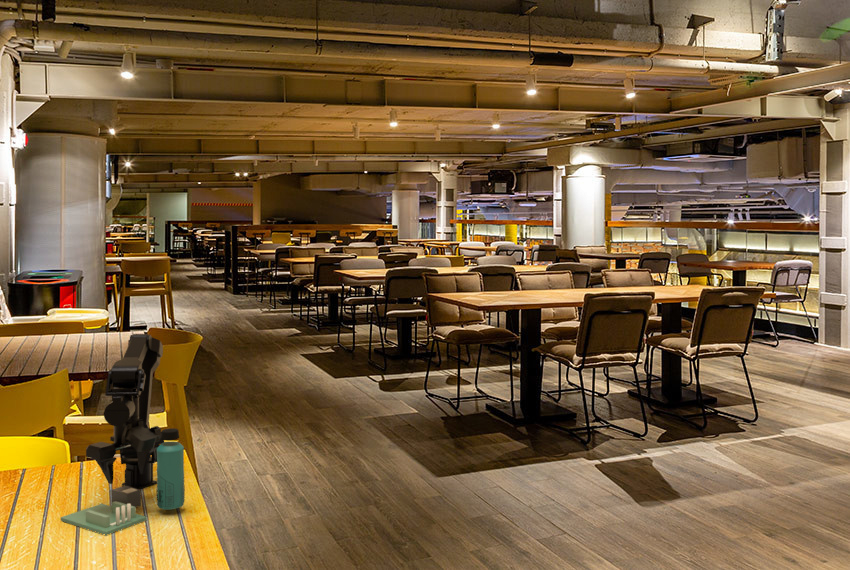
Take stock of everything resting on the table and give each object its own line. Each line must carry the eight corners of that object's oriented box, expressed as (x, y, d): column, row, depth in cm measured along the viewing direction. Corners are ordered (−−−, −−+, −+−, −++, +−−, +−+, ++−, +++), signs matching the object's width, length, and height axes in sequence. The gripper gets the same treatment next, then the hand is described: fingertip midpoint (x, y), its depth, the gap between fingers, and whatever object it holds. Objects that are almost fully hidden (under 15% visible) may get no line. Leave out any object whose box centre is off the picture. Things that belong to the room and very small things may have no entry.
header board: (60, 520, 177) (60, 500, 177) (101, 506, 187) (101, 487, 186) (105, 535, 169) (105, 514, 169) (146, 520, 179) (146, 499, 178)
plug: (111, 505, 188) (111, 489, 188) (125, 501, 192) (125, 485, 191) (126, 510, 185) (126, 494, 185) (141, 506, 188) (141, 489, 188)
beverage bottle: (190, 509, 186) (190, 428, 185) (170, 518, 180) (170, 434, 179) (170, 504, 189) (170, 424, 188) (150, 513, 183) (149, 430, 182)
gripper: (115, 428, 175) (115, 495, 176) (179, 413, 191) (179, 474, 192) (84, 421, 180) (84, 486, 181) (149, 407, 196) (149, 466, 198)
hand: (126, 478), depth 188 cm, fingers open, 9 cm apart
